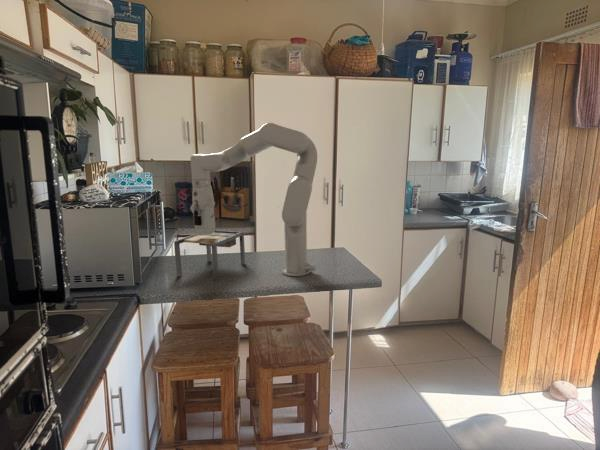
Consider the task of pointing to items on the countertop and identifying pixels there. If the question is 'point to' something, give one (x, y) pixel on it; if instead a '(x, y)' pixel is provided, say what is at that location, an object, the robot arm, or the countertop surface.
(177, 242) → the frame
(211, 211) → the supplement box
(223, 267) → the countertop surface
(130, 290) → the countertop surface
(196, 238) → the trapdoor
